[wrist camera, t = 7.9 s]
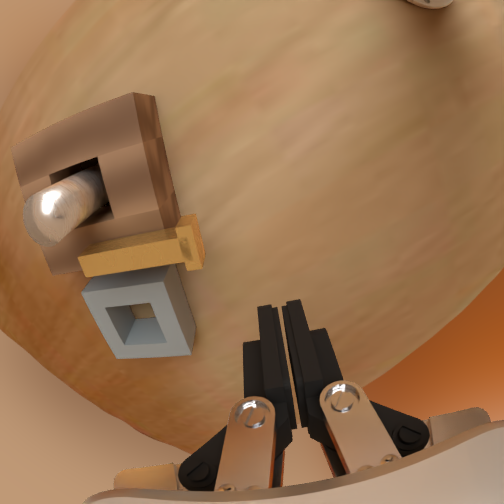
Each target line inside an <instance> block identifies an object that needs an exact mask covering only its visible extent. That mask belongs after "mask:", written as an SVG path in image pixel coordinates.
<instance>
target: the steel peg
mask: <svg viewBox="0 0 504 504" xmlns="http://www.w3.org/2000/svg"><path fill="white" fill-rule="evenodd" d="M108 201H109V198H108V195H107V191H106V188H105V184H104V181H103V177H102V173H101V169H100V165H99V164H96V165H94V166H92V167H89V168H87V169H85V170H83V171H80V172H78V173H76V174H74V175H72V176H69V177H67V178H65V179H63V180H61V181H59V182H57V183H55V184H53V185H51V186H49V187H47V188H45V189H43V190H41V191H39V192H37V193H36V194H34V195H32V196H30V197H29V198H28V199H27V201H26V203H25V205H24V209H23V220H24V225H25V228H26V230H27V232H28V234H29V235H30V237H31V238H32V239H33V240H34V241H35V242H36V243H38V244H40V245H42V246H45V247H51V246H54V245H56V244H57V243H58V242H59V241H60V240H62V239H63V238H64V237H65V236H66V235H67V234H69V233H70V232H71V231H72V230H73V229H75V228H76V227H77V226H78V225H79V224H81V223H82V222H83V221H84V220H85V219H87V218H88V217H89V216H90V215H92V214H93V213H94V212H95V211H97V210H98V209H99V208H101V207H102V206H103V205H105V204H106V203H107V202H108Z"/></svg>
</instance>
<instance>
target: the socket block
mask: <svg viewBox="0 0 504 504" xmlns="http://www.w3.org/2000/svg"><path fill="white" fill-rule="evenodd" d="M11 151H12V155H13V160H14V164H15V168H16V172H17V176H18V180H19V184H20V187H21V191H22V194H23V198H24V201H25V203H26V201H27V199H28V198H29V197H30V196H32V195H34V194H36V193H37V192H39V191H41V190H43V189H45V188H47V187H49V186H51V185H53V184H55V183H57V182H59V181H61V180H63V179H65V178H67V177H69V176H72V175H74V174H76V173H78V172H80V171H82V170H81V166H80V162H83V161H86V160H89V159H92V158H95V157H98V161H99V165H100V169H101V173H102V177H103V181H104V184H105V188H106V191H107V195H108V198H109V202H110V205H111V206H107V207H103V208H99V209H98V210H97V211H95V212H94V213H93V214H92V215H90V216H89V217H88V218H87V219H85V220H84V221H83V222H82V223H81V224H79V225H78V226H77V227H76V228H75V229H73V230H72V231H71V232H70V233H69V234H67V235H66V236H65V237H64V238H63V239H62V240H60V241H59V242H58V243H57V244H56V245H54V246H51V247H45V246H42V245H40V246H41V249H42V251H43V254H44V256H45V259H46V261H47V263H48V266H49V268H50V270H51V273H52V275H59V274H65V273H70V272H76V271H82V267H81V265H80V262H79V260H78V256H79V255H80V254H81V253H82V252H83V251H84V250H85V249H86V248H87V247H88V246H89V245H90V244H94V243H99V242H104V241H108V240H113V239H118V238H123V237H128V236H133V235H138V234H143V233H148V232H153V231H158V230H163V229H168V228H174V227H176V225H177V223H178V222H179V220H180V218H181V216H180V212H179V208H178V204H177V200H176V195H175V191H174V187H173V183H172V179H171V174H170V170H169V165H168V161H167V156H166V152H165V147H164V142H163V138H162V133H161V128H160V123H159V118H158V113H157V107H156V102H155V97H154V96H151V95H145V94H140V93H134V92H132V93H129V94H126V95H123V96H121V97H118V98H115V99H112V100H109V101H107V102H104V103H101V104H99V105H96V106H94V107H91V108H89V109H86V110H84V111H82V112H79V113H77V114H75V115H72V116H70V117H68V118H66V119H64V120H62V121H59V122H57V123H55V124H53V125H51V126H49V127H47V128H45V129H43V130H41V131H39V132H37V133H35V134H34V135H32V136H30V137H28V138H26V139H24V140H23V141H21V142H19V143H17V144H16V145H14V146H12V147H11Z"/></svg>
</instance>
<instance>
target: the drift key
mask: <svg viewBox="0 0 504 504" xmlns="http://www.w3.org/2000/svg"><path fill="white" fill-rule="evenodd" d="M204 259H205V250H204V246H203V242H202V238H201V234H200V230H199V225H198V221H197V217H196V214H192V215H186V216H181V218H180V220H179V222H178V223H177V225H176V227H174V228H168V229H163V230H158V231H153V232H148V233H143V234H138V235H133V236H128V237H123V238H118V239H113V240H108V241H104V242H99V243H94V244H90V245H89V246H88V247H87V248H86V249H85V250H84V251H83V252H82V253H81V254H80V255H79V256H78V260H79V262H80V265H81V267H82V270H83V272H84V274H85V277H86V278H87V277H93V276H99V275H105V274H112V273H118V272H124V271H131V270H137V269H143V268H150V267H156V266H162V265H169V264H175V263H181V262H185V265H186V269H187V271H191V270H197V269H202V267H203V263H204Z"/></svg>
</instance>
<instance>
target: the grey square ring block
mask: <svg viewBox="0 0 504 504" xmlns="http://www.w3.org/2000/svg"><path fill="white" fill-rule="evenodd" d="M81 293H82V295H83V297H84V300H85V302H86V304H87V306H88V308H89V310H90V312H91V314H92V315H93V317H94V319H95V321H96V323H97V325H98V327H99V329H100V330H101V332H102V334H103V336H104V338H105V339H106V341H107V343H108V345H109V346H110V348H111V350H112V352H113V353H114V355H115V357H116V358H117V359H125V358H152V357H170V356H184V355H192V349H193V343H194V337H195V332H196V324H195V322H194V319H193V316H192V313H191V310H190V307H189V304H188V301H187V298H186V295H185V292H184V289H183V286H182V283H181V280H180V277H179V274H178V270H177V267H176V264H169V265H162V266H156V267H150V268H143V269H137V270H131V271H124V272H118V273H112V274H105V275H99V276H93V277H92V279H91V280H90V281H89V283H88V284H87V285H86V287H85V288H84V289H83V291H82V292H81ZM143 303H150V304H151V306H152V309H153V311H154V313H155V316H156V317H153V318H143V319H135V317H134V315H133V313H132V311H131V309H130V306H129V305H134V304H143Z"/></svg>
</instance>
